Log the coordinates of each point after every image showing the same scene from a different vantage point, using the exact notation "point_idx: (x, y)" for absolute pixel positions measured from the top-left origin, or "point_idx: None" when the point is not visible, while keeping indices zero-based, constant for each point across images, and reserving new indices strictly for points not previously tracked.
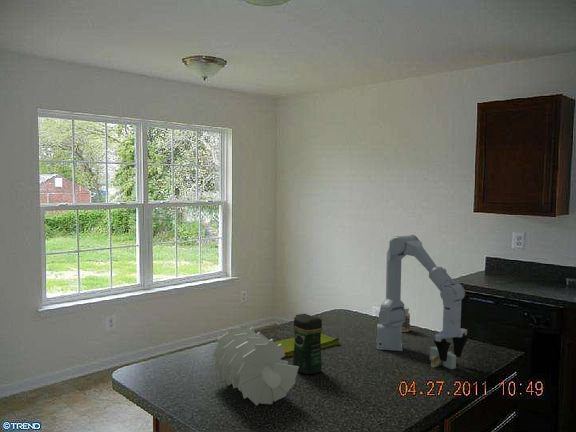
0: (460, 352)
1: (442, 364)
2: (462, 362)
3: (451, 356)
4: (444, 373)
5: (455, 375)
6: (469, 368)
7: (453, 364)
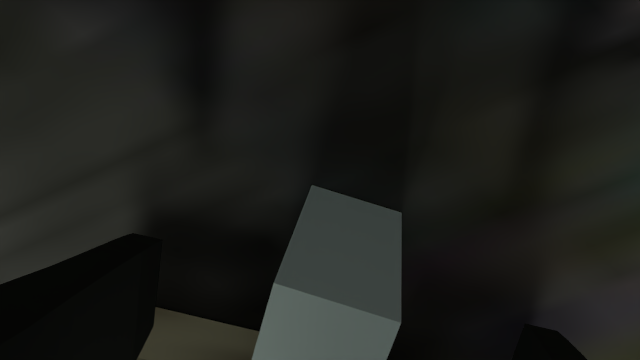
0: (119, 270)
1: None
2: (41, 207)
3: (398, 322)
4: (634, 213)
5: (607, 63)
6: (164, 38)
7: (354, 226)
